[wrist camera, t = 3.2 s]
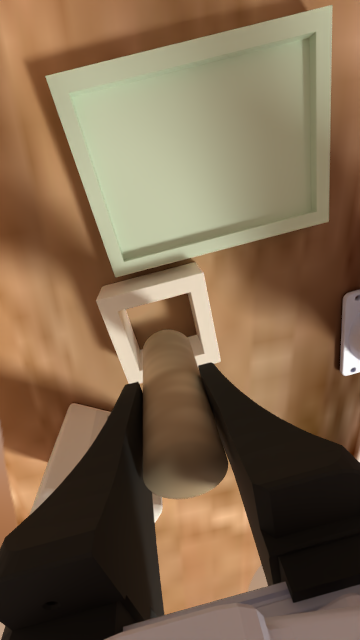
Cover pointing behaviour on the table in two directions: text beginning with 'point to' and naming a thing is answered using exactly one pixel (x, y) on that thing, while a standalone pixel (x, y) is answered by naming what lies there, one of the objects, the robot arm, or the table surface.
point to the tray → (204, 140)
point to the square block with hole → (150, 290)
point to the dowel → (178, 422)
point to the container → (73, 456)
